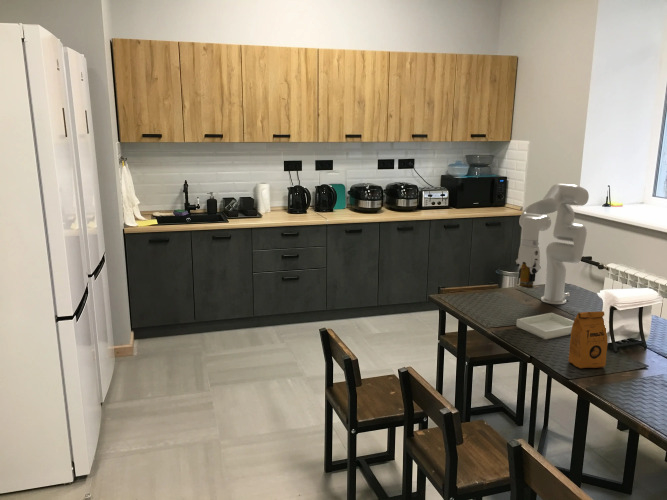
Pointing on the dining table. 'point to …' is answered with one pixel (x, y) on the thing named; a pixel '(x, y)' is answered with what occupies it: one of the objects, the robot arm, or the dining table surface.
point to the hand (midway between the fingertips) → (526, 279)
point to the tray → (546, 325)
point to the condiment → (526, 277)
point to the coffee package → (588, 340)
